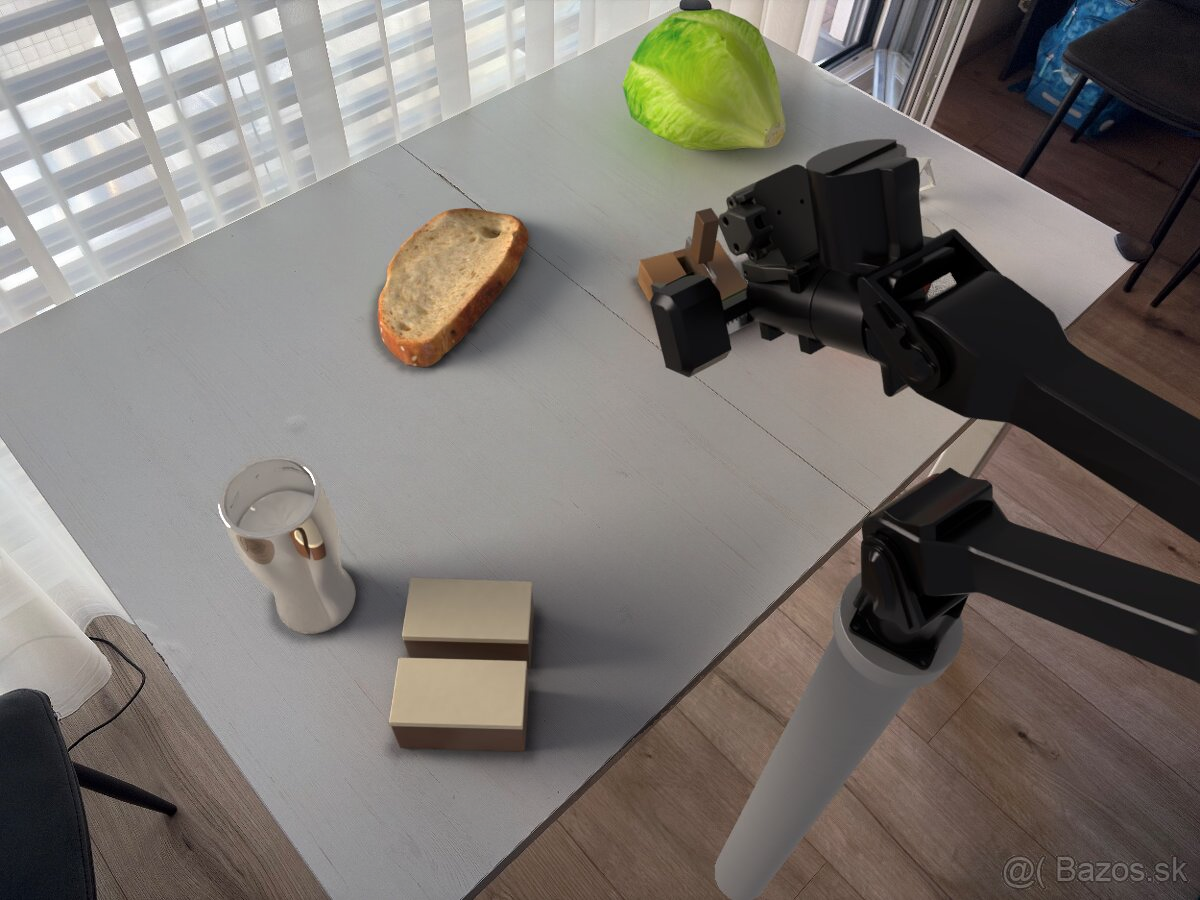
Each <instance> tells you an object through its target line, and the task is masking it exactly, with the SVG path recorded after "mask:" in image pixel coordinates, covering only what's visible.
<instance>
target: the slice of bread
mask: <svg viewBox="0 0 1200 900" xmlns="http://www.w3.org/2000/svg"><path fill="white" fill-rule="evenodd" d="M529 240H530V233H529V231H528V229H527V226H526V225H525V224H524V223H523V221H522V220H521V219H520V218H518V217H517V216H515V215H511V214H507V213H498V212H494V211H490V210H485V209H479V208H472V207H461V208H452V209H448V210H444V211H443V212H441V213H439V214H436V215H435V216H434V217H433V218H431V219H430V220H429V221H428V222H426V223H425V224H423V225H422V226H421V227H420V228H418V229H417V230H415V231H414V232H413V233H412V234H411V235H410V237H408V238H407V239H406V240H405V241H404V242H403V243H402V244H401V246H400V247H399V248H398V250H397V251H396V252H395V254H394V255H393V257H392V259H391V261H390V262H389V263H388V265H387V272H386V273H387V276H386V277H387V278H386V282H385V284H384V287H383V289H382V291H381V292H380V294H379V297H378V302H377V303H378V305H377V307H378V308H377V322H378V328H379V332H380V336H381V339H382V341H383V343H384V344H385V346H386V348H387V349H388V351H390V353H391V354H392V355H393V356H394V357H395V358H396V359H398V360H400V361H401V362H403V363H404V364H405V366H412V367H421V368H426V367H427V368H428V367H432V366H433V365H434V364H437V363H438V362H440V361H441V360H442V358H443V357H444V355H445V354H448V352H450V351H451V350H452V349H453V348H454V347H455V346H456V345H457V344H459V343H461V342H462V341H463V338H464V337H465V336H466V334H468V332H470V331H471V330H472V329H473V327H474V325H475V324H476V323H477V321H478V320H479V319H480V318H481V317H482V316H483V314H484V313H485V311H486V310H488V309H489V307H491V305H492V304H493V303H494V301H496V299H497V298H498V297H499V296H500V294H501V293H502V291H504V289H505V288H506V286H507V285H508V283H509V282H510V280H511V279H512V278H513V277H514V275H515V274H516V272H517V270H518V268H519V266H520V264H521V259H522V257H523V255H524V253H525V251H526V249H527V246H528V244H529V242H530V241H529Z"/></svg>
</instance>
